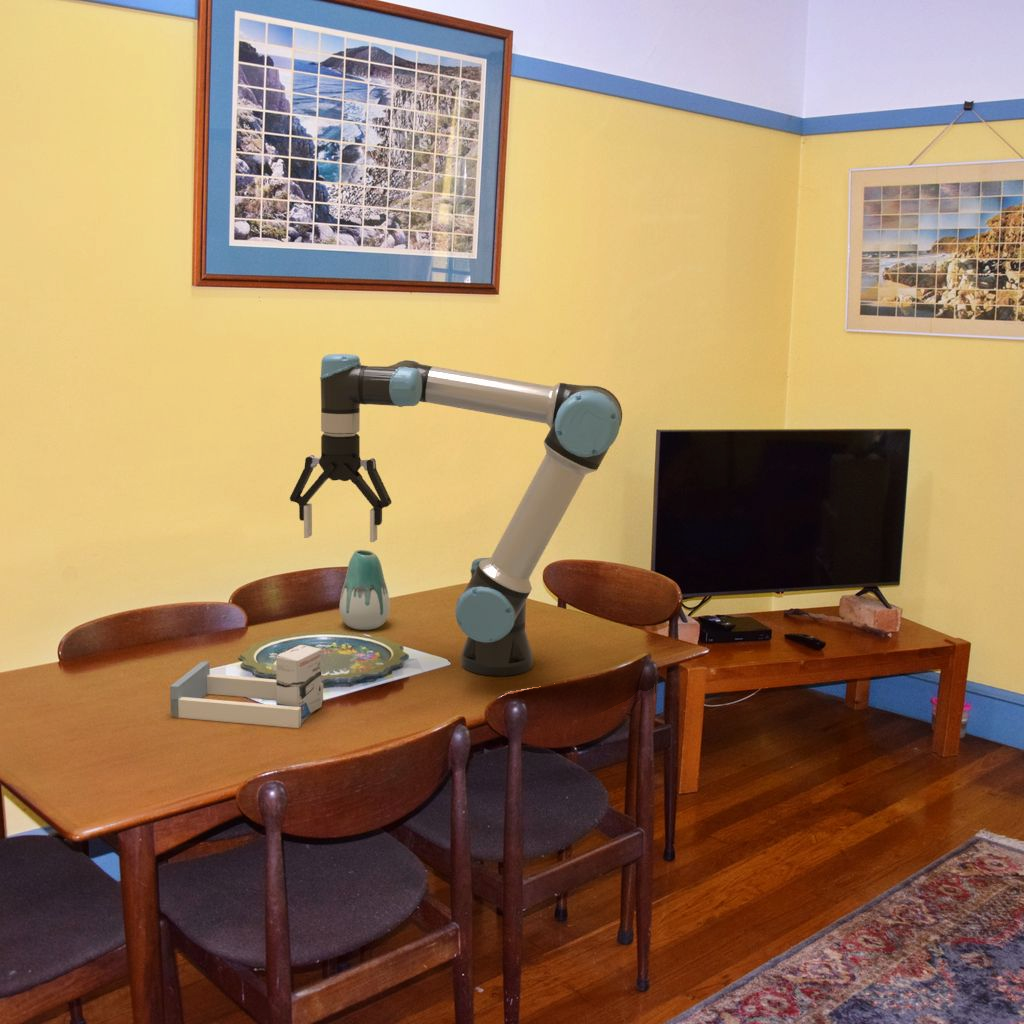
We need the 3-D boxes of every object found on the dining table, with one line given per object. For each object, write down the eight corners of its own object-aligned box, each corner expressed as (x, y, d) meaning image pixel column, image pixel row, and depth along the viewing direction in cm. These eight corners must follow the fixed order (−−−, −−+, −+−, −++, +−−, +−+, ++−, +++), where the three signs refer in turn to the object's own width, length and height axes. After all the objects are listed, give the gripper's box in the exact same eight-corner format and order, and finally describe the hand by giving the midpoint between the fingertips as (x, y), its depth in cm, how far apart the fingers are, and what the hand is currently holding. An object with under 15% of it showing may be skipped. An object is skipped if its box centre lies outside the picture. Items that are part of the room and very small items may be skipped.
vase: (399, 624, 283) (400, 550, 279) (368, 636, 273) (368, 560, 269) (361, 616, 289) (361, 543, 285) (329, 627, 279) (328, 552, 276)
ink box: (298, 721, 221) (297, 660, 219) (275, 717, 223) (274, 656, 221) (323, 706, 229) (322, 647, 227) (301, 702, 231) (300, 643, 229)
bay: (323, 700, 233) (323, 671, 232) (298, 728, 219) (298, 696, 218) (203, 690, 237) (202, 661, 236) (171, 716, 223) (170, 686, 222)
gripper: (406, 433, 239) (405, 538, 243) (286, 428, 243) (287, 530, 247) (397, 439, 232) (396, 546, 236) (273, 432, 236) (274, 538, 240)
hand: (340, 538), depth 242 cm, fingers open, 13 cm apart
